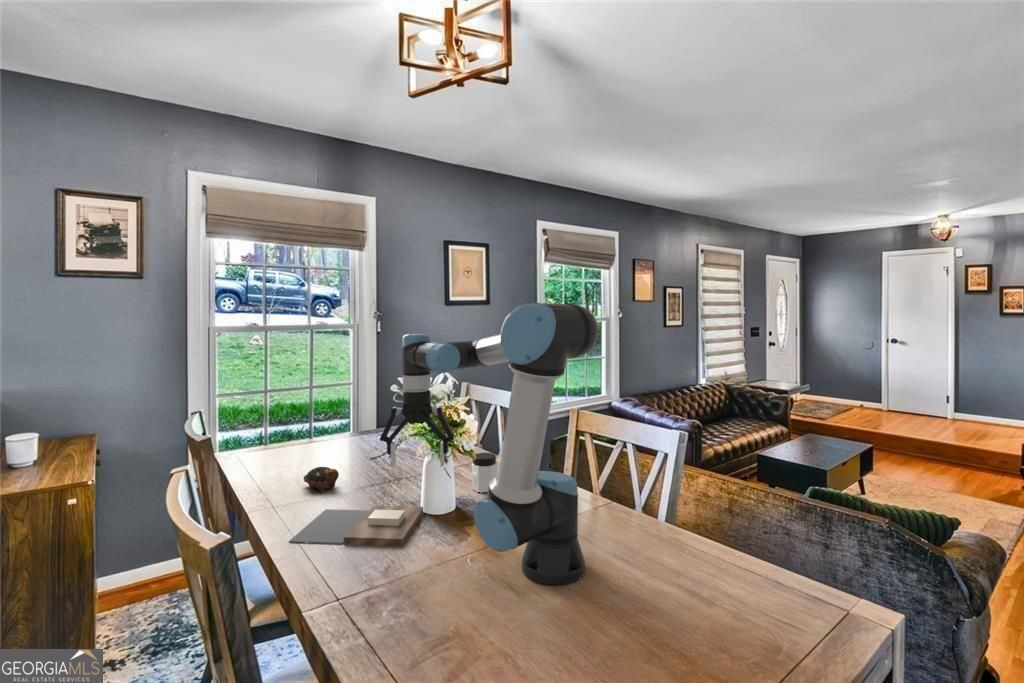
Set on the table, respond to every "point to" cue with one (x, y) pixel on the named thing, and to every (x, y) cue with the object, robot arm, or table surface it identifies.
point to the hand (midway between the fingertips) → (418, 465)
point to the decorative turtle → (321, 478)
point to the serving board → (384, 528)
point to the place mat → (330, 526)
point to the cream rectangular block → (386, 517)
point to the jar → (483, 471)
